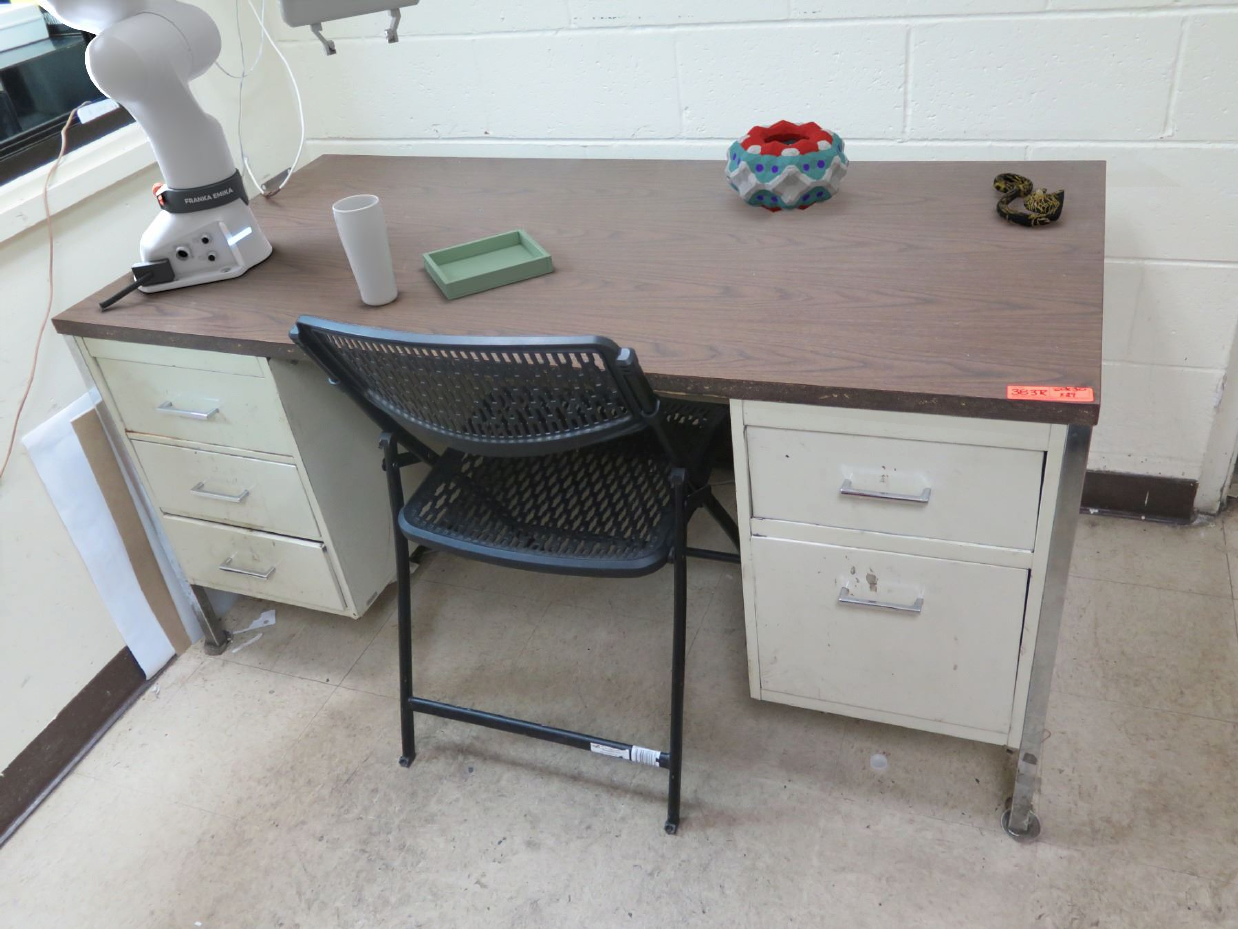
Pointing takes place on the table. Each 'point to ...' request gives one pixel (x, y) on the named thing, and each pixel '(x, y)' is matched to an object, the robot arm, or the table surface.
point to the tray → (487, 263)
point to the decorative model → (786, 165)
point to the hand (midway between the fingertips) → (362, 48)
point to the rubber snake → (1027, 201)
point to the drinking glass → (367, 247)
